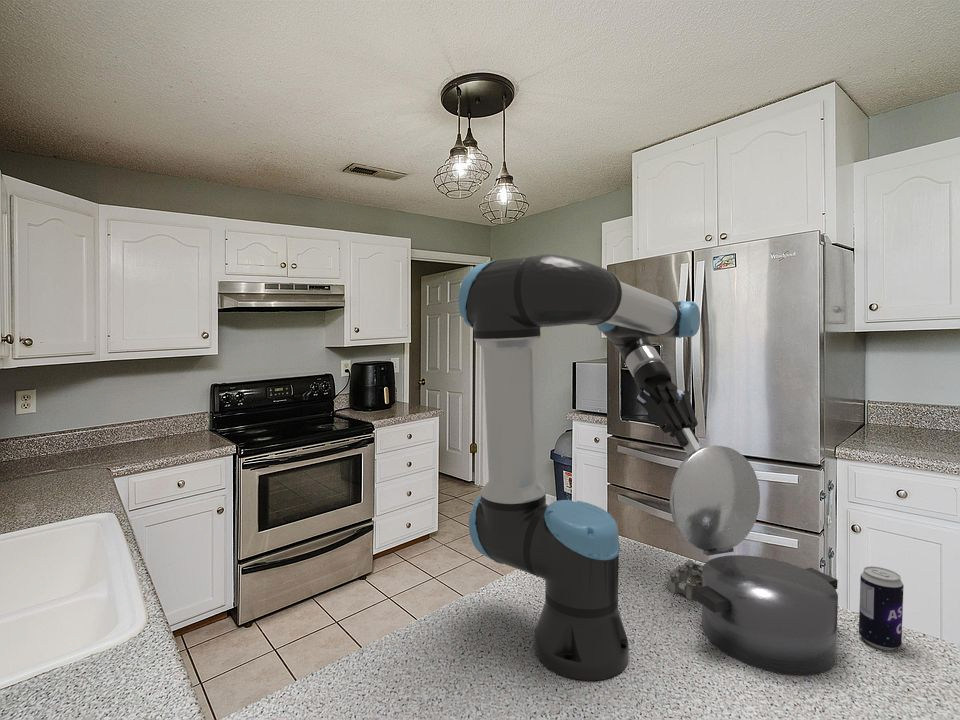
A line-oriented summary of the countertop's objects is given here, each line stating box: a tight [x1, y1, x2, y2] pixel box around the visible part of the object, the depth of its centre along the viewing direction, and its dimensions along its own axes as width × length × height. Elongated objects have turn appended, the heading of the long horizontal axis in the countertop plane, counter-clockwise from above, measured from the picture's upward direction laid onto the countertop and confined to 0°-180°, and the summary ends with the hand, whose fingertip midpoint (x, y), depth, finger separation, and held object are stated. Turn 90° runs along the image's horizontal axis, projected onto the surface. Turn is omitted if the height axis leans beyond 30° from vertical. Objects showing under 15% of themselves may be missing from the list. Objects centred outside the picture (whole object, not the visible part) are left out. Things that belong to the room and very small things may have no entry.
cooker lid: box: [669, 444, 761, 556], centre depth 99 cm, size 20×20×2 cm
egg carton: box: [664, 559, 704, 601], centre depth 106 cm, size 11×8×4 cm
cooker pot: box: [693, 554, 839, 676], centre depth 88 cm, size 26×20×10 cm
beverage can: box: [858, 566, 905, 651], centre depth 86 cm, size 6×6×12 cm
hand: (698, 458), depth 103 cm, fingers closed
